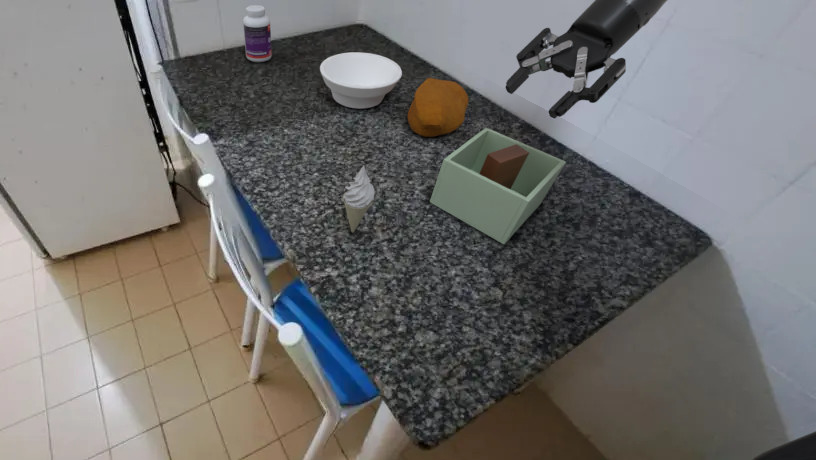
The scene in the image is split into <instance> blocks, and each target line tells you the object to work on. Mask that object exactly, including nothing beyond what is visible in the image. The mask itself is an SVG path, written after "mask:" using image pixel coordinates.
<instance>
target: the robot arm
mask: <svg viewBox="0 0 816 460" xmlns="http://www.w3.org/2000/svg"><path fill="white" fill-rule="evenodd" d="M667 1H668V0H593V2H592V3H591V4H590V5H589V6H587V8H586V9H585V10H584V11H583V12H582V13H581V15H579V16H578V17H577V18H576V19H575V20H574V22H573V23H572V24H571V26H570V27H569V28H568V29H567V30H566V32H564V33H563V34H561V35H559V36H558V35H556V34H554V33H552V30H551V28H550V27H545V28H543V29H542V30H541V31H540V32H539V33H538V34H536V36H534V38H533V39H531V41H530V42H528V44H527V45H526V46H524V47H523V48H522V49H521V50H520V51H519V52H518V53H517V54H516V55H515V57H516V61H517V63H518V66H519V68H518V69H517V70H516V71H515V72H514V73H513V74H512V75H511V76H510V77H509V78H508V79H507V80H506V82H505V90H506V93H508V94H510V95H513V94H514V93H515V92H516V91H517V90H518V89H519V88H520V87H521V86H522V85H523V84H524V83H525V82H526V81H527V80H528V79H529V78H530V75H533V74H536V73H539V72H547V71H550V70H553V71H554V72H556V73H559V74H563V75H564V76H565V77H566V78H569V79H571V78H574V79H573V85H572V90H567V92H565V93H564V94H563V95H562V96H561V98H559V99H558V100H557V101H556V102H555V103H554V104H552V106H551V107H550V108H549V110H548V115H549V117H550V118H552V119H557V118H561V117H562V116H564V115H565V114H567V112H568V111H569V110H570V109H571V108H572V107H574V106H575V105H576V104H578V102H580V101H587V102H589V103H591V104H594V103H597V102H598V101H599V100H600V99H601V98H602V97H603V96H604V95H605V94H606V93H607V92H608V91H609V90H610V89H611V88H612V87H613V86H614V85H615V84H616V83H617V82H618V81H619V80H620V79H621V77H622V76H624V74H625V73H626V70H627V63H626V59H625V58H624V57H619V58H616V59H615V58H612V56H614V55H615V54H616V53H618V51H619V50H620V49H621V48H622V47H623V46H624V45H625V44H626V43H628V42H629V41H630V40H631V39H632V38H633V37H634V36H635V35H636V34H637V33H638V32H639V31H640V30H641V29H642V28H643V27H645V26H646V25H647V24H648V23H649V22H650V21H651V19H653V17H655V15H656V14H657V13H658V12H659V11H660V10H661V8H662V7H663V6H664V4H666V3H667ZM550 46H552V47H551V48H549V47H550ZM548 59H549V61H548ZM602 68H603V73H602V74H601V75H600V76H599V77H598V78H597V79H596V80H595V81H594V82H593V84H591V86H590V87H587V85H588V78H589V74H590V73H592V72H595V71H597V70H600V69H602ZM751 460H816V430H815V431H813V432H810V433H808V434H805V435H803V436H801V437H798V438H796V439H793V440H790V441H788V442H785V443H783V444H781V445H778V446H775V447H773V448H771V449H768V450H766V451H763V452H761V453H759V454H758V455H757V456H754V458H752V459H751Z"/></svg>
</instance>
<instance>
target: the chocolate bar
mask: <svg viewBox="0 0 816 460" xmlns="http://www.w3.org/2000/svg"><path fill="white" fill-rule="evenodd" d="M528 154H529V152H527V151H526V150H524V149H523V148H521V147H520V146H518V145H517V144H515V145H512V146H510V147H507V148H504V149H501V150H498V151H495V152H492V153H489V154H488V155H487V157H486V159H485V162H484V164H483V166H482V169H481V171H480V173H479V174H480V175H482V176H484V177H486V178H488V179H490V180H492V181H494V182H496V183H498V184H500V185H502V186H504V187H506V188H508V189H511V187H512V185H513V183H514V182H515V180H516V178H517V176H518V174H519V172H520V170H521V168H522V166H523V164H524V162H525V160H526V158H527V156H528Z"/></svg>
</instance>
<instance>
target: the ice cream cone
mask: <svg viewBox="0 0 816 460" xmlns="http://www.w3.org/2000/svg"><path fill="white" fill-rule="evenodd" d="M353 180H354V181H349V182H348V185H350V186H345V187H344V188H345V189H346V190H347V191H345V192H344V193H343V195H342V201H343V203H344V206H345V207H344V208H345V211H346V215H347V219H348V223H349V229H350V232H351V233H355V231H356V230H357V228H358V226H359V224H360V223H361V221H362V219H363V218H364V216H365V215H366V213H367V211H368V210H369V208H370V206H371V205H372V204H373V201H374V199H375V195H376V194H375V193H376V192H375V189H374V185H373V184H372V183H370V182H371V180H370V178H369V175H368V173H367V170H366V167H365V165H364V164H363V165H362V167H361V168H360V170H359V171H358V173H357V174H356V175H355V176H354V177H353Z"/></svg>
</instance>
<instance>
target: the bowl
mask: <svg viewBox="0 0 816 460" xmlns="http://www.w3.org/2000/svg"><path fill="white" fill-rule="evenodd" d="M319 71H320V72H319V73H320V75H321V76H322V79H323V82H324V84H325V86H326V87H327V88H328V89H330V92H331V96H332V98H333V100H334V101H335V102H336V103H338V104H339V105H342V106H344V107H347V108H352V109H369V108H373V107H375V106H376V107H377V106H378V105H380V104H381V103H382V101H383V100H384V98H385V96H386V95H387V94H388V93H390V92H391V91H392V90H393V89H394V88H395V87H396V85H397V84H398V82H399V81H400V80H401V78H402V75H403V71H402V68H401V66H400V65H399V64H398V63H397V62H395V61H394V60H392V59H390V58H388V57H385V56H383V55H380V54H376V53H370V52H360V51H359V52H358V51H357V52H356V51H355V52H353V51H352V52H342V53H338V54H333V55H331V56H328V57H327V58H326V59H324V60H323V61H322V62H321V63H320V66H319Z"/></svg>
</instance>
